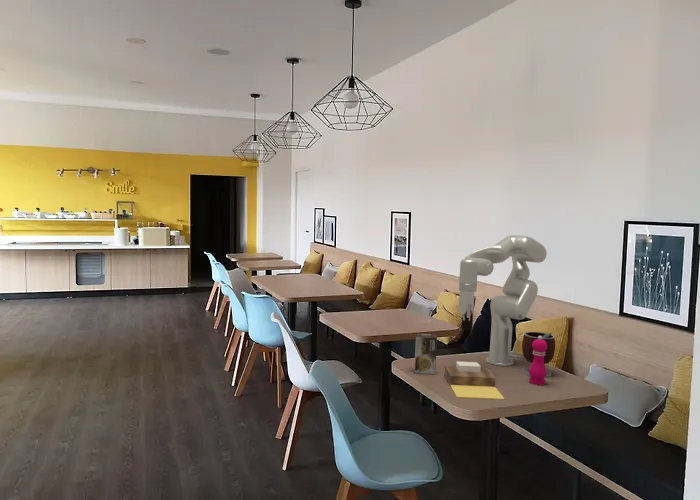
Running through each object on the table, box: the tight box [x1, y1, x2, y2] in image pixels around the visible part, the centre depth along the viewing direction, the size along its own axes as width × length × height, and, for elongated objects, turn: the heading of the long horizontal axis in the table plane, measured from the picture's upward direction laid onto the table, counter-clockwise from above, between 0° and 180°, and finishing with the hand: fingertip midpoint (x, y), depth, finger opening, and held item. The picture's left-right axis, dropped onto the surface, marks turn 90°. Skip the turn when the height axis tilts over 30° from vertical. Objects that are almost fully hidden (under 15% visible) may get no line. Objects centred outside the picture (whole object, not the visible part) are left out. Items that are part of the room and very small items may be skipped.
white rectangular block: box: [455, 361, 482, 372], centre depth 232 cm, size 9×6×2 cm, turn 90°
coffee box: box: [413, 333, 438, 375], centre depth 240 cm, size 9×6×16 cm
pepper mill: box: [528, 336, 548, 386], centre depth 230 cm, size 7×7×20 cm
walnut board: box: [444, 365, 496, 387], centre depth 229 cm, size 18×14×4 cm
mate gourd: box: [521, 331, 556, 378], centre depth 244 cm, size 16×14×20 cm
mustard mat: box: [449, 384, 506, 401], centre depth 215 cm, size 18×14×1 cm
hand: (465, 329), depth 241 cm, fingers closed
